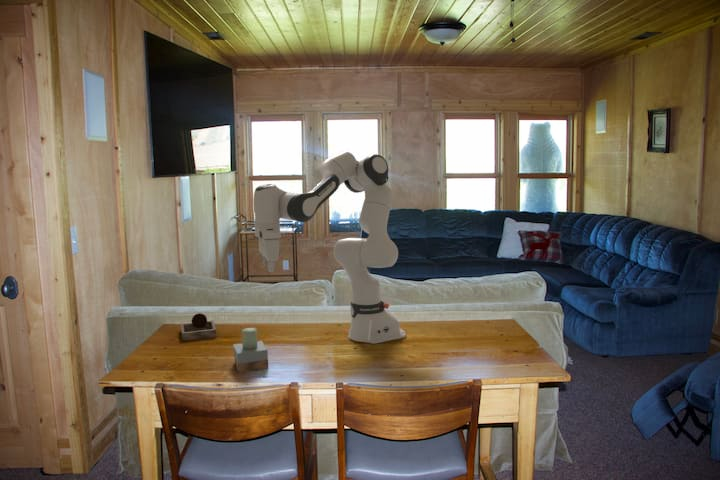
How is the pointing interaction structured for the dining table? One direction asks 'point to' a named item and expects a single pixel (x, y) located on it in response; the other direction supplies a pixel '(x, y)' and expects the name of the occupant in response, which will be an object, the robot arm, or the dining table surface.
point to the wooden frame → (198, 334)
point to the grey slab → (250, 353)
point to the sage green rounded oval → (249, 338)
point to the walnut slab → (252, 366)
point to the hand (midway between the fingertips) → (268, 269)
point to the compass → (199, 321)
